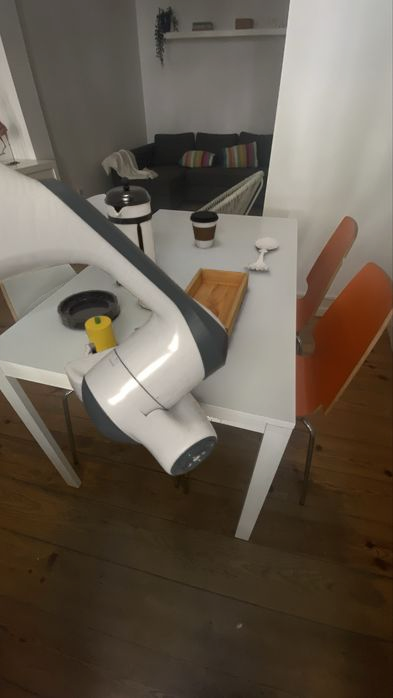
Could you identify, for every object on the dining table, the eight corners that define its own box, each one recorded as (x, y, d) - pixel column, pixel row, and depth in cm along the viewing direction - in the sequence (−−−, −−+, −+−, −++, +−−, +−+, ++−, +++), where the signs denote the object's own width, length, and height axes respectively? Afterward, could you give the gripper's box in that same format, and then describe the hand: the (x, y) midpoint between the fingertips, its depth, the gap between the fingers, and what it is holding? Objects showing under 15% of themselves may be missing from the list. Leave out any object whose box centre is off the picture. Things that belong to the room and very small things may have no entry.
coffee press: (171, 283, 101) (164, 178, 83) (122, 294, 96) (103, 184, 77) (153, 264, 114) (143, 168, 95) (109, 272, 108) (89, 173, 90)
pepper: (93, 361, 71) (84, 327, 66) (92, 346, 76) (82, 313, 70) (118, 355, 73) (111, 322, 67) (115, 342, 77) (108, 309, 71)
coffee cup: (219, 241, 131) (219, 210, 123) (216, 251, 122) (217, 218, 115) (192, 240, 132) (191, 210, 125) (188, 250, 123) (187, 218, 116)
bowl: (61, 335, 79) (57, 324, 77) (61, 306, 91) (57, 295, 89) (123, 323, 83) (121, 312, 81) (115, 296, 95) (113, 286, 93)
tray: (200, 283, 101) (199, 266, 97) (247, 289, 97) (249, 271, 94) (166, 338, 77) (164, 319, 74) (227, 348, 74) (228, 328, 70)
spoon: (242, 275, 105) (242, 265, 103) (257, 242, 129) (257, 233, 127) (269, 278, 103) (271, 268, 101) (279, 244, 127) (280, 235, 125)
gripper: (201, 343, 51) (163, 307, 61) (74, 392, 43) (53, 342, 53) (201, 372, 55) (166, 334, 65) (85, 422, 47) (64, 370, 57)
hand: (114, 338), depth 59 cm, fingers open, 8 cm apart
